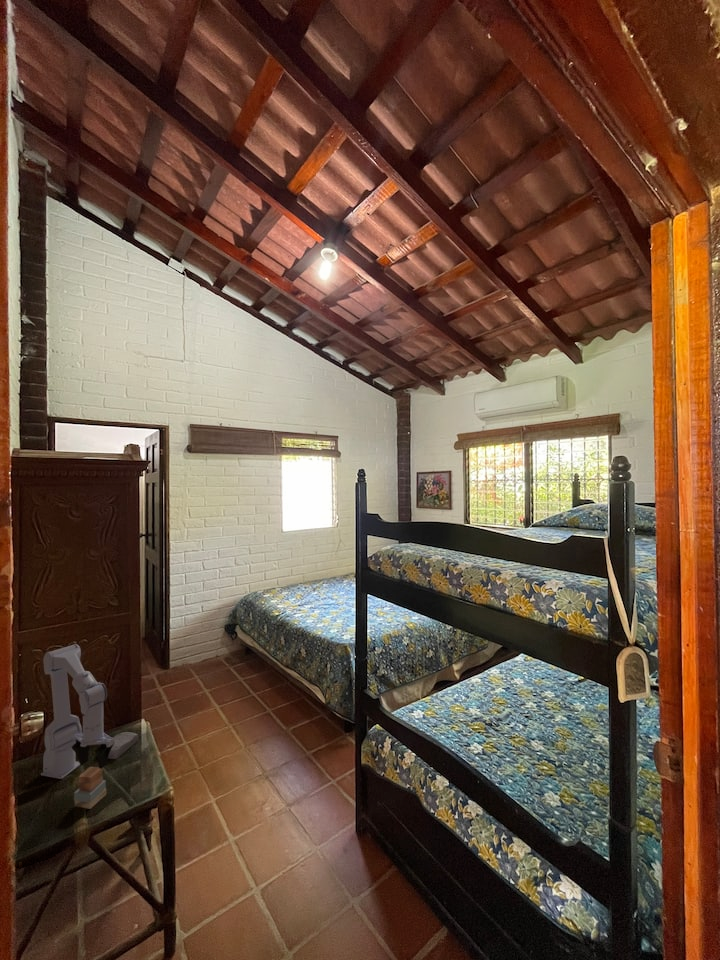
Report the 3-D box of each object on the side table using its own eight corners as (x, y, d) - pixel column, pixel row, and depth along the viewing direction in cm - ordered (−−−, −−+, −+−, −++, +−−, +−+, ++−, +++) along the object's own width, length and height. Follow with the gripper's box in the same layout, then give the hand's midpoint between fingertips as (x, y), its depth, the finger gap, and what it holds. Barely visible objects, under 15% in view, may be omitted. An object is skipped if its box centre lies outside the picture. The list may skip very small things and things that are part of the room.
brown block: (74, 807, 125) (74, 799, 125) (91, 793, 131) (91, 785, 131) (90, 810, 124) (90, 802, 124) (106, 795, 129) (106, 788, 130)
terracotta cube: (79, 790, 126) (78, 776, 126) (90, 780, 130) (90, 766, 130) (91, 791, 125) (91, 777, 125) (102, 781, 129) (102, 767, 129)
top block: (74, 800, 125) (74, 792, 125) (89, 786, 131) (89, 778, 131) (90, 802, 124) (90, 794, 124) (105, 788, 130) (105, 780, 130)
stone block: (95, 762, 148) (117, 760, 146) (93, 749, 148) (115, 747, 146) (120, 743, 159) (140, 741, 157) (118, 731, 160) (139, 729, 158)
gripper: (64, 728, 127) (64, 770, 127) (100, 733, 124) (100, 776, 123) (83, 715, 134) (84, 755, 133) (118, 720, 130) (119, 761, 130)
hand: (93, 764), depth 129 cm, fingers open, 7 cm apart
